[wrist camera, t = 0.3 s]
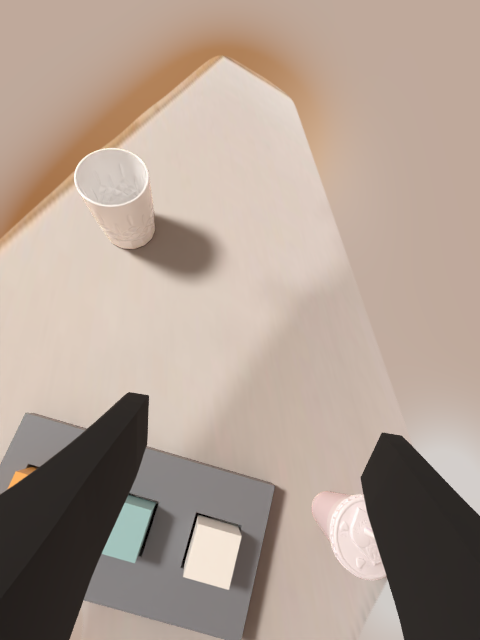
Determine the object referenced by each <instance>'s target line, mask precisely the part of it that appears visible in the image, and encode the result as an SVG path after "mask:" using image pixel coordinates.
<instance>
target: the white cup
mask: <svg viewBox="0 0 480 640" xmlns="http://www.w3.org/2000/svg"><path fill="white" fill-rule="evenodd" d="M74 182H75V186H76V188H77V190H78V192H79V193H80V195H81V197H82V198H83V200H84V202H85V203H86V205H87V207H88V208H89V210H90V212H91V213H92V215H93V217H94V218H95V220H96V221H97V223H98V224H99V226H100V228H101V229H102V230H103V231H104V233H105V235H106V236H107V237H108V239H109V240H110V241H111V243H112V244H114V245H116V246H118V247H120V248H124V249H135V248H138V247H141V246H144V245H145V244H146V243H147V242H149V241H150V240H151V239H152V237H153V234H154V231H155V224H154V208H153V200H152V192H151V185H150V178H149V172H148V169H147V166H146V165H145V163H144V162H143V161H142V160H141V159H140V158H139V157H138V156H137V155H135V154H134V153H132V152H129V151H127V150H124V149H118V148H105V149H100V150H97V151H94V152H92V153H90V154H89V155H87V156H86V157H84V158H83V159H82V160H81V161H80V163H79V164H78V166H77V168H76V170H75V174H74Z"/></svg>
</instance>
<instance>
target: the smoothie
mask: <svg viewBox="0 0 480 640" xmlns="http://www.w3.org/2000/svg"><path fill="white" fill-rule="evenodd" d="M312 515H313V517H314V519H315V521H316V522H317V524H318V525H319V527H320V528H321V530H322V531H323V533H324V534H325V536H326V537H327V538H328V540H329V541H330V543H331V547H332V549H333V552H334V554H335V556H336V558H337V559H338V561H339V562H340V563H341V565H342V566H343V567H344V568H345V569H347V570H348V571H349V572H351V573H352V574H353V575H355V576H356V577H358V578H361V579H364V580H379V579H382V578H384V577H386V573H385V569H384V566H383V563H382V560H381V557H380V553H379V550H378V547H377V544H376V541H375V537H374V534H373V531H372V528H371V524H370V521H369V517H368V514H367V510H366V505H365V500H364V494H357V495H352V496H351V495H346V494H340V493H334V492H329V491H323V492H321V493H319V494H317V495H316V496H315V498H314V500H313V502H312Z"/></svg>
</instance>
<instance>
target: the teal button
mask: <svg viewBox="0 0 480 640" xmlns="http://www.w3.org/2000/svg"><path fill="white" fill-rule="evenodd" d="M155 505H156V502H152V501H149V500H145V499H142V498H138V497H135V496H131V495H128V497H127V499H126V501H125V503H124V506H123V508H122V510H121V512H120V514H119V517H118V519H117V521H116V523H115V525H114V528H113V530H112V532H111V534H110V536H109V539H108V541H107V543H106V545H105V547H104V550H103V552H102V554H104V555H107V556H111V557H114V558H118V559H121V560H125V561H128V562H132V563H135V562H136V560H137V557H138V555H139V553H140V551H141V548H142V545H143V542H144V539H145V536H146V533H147V529H148V526H149V523H150V520H151V517H152V514H153V511H154V508H155Z"/></svg>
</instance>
